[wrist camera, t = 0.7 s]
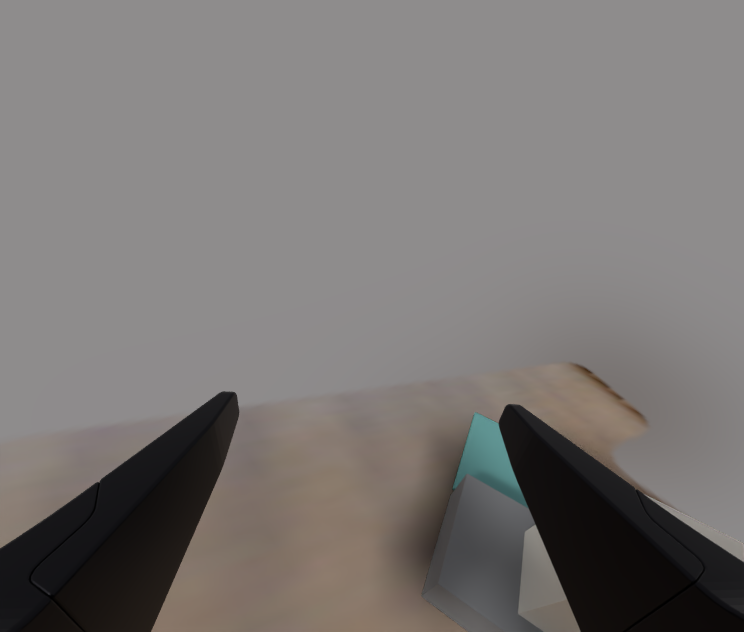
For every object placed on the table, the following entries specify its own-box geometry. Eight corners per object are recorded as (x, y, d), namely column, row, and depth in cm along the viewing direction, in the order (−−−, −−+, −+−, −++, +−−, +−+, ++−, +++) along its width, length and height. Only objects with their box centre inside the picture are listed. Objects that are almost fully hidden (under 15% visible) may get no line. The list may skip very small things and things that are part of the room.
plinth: (701, 806, 13) (790, 838, 11) (421, 596, 17) (438, 583, 15) (663, 625, 18) (719, 617, 15) (450, 495, 22) (466, 473, 20)
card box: (657, 710, 13) (877, 734, 8) (518, 613, 14) (621, 583, 9) (638, 600, 15) (789, 565, 10) (524, 531, 17) (607, 475, 12)
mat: (661, 615, 18) (666, 614, 18) (452, 489, 22) (453, 487, 22) (636, 495, 24) (639, 493, 24) (473, 414, 28) (475, 412, 28)
